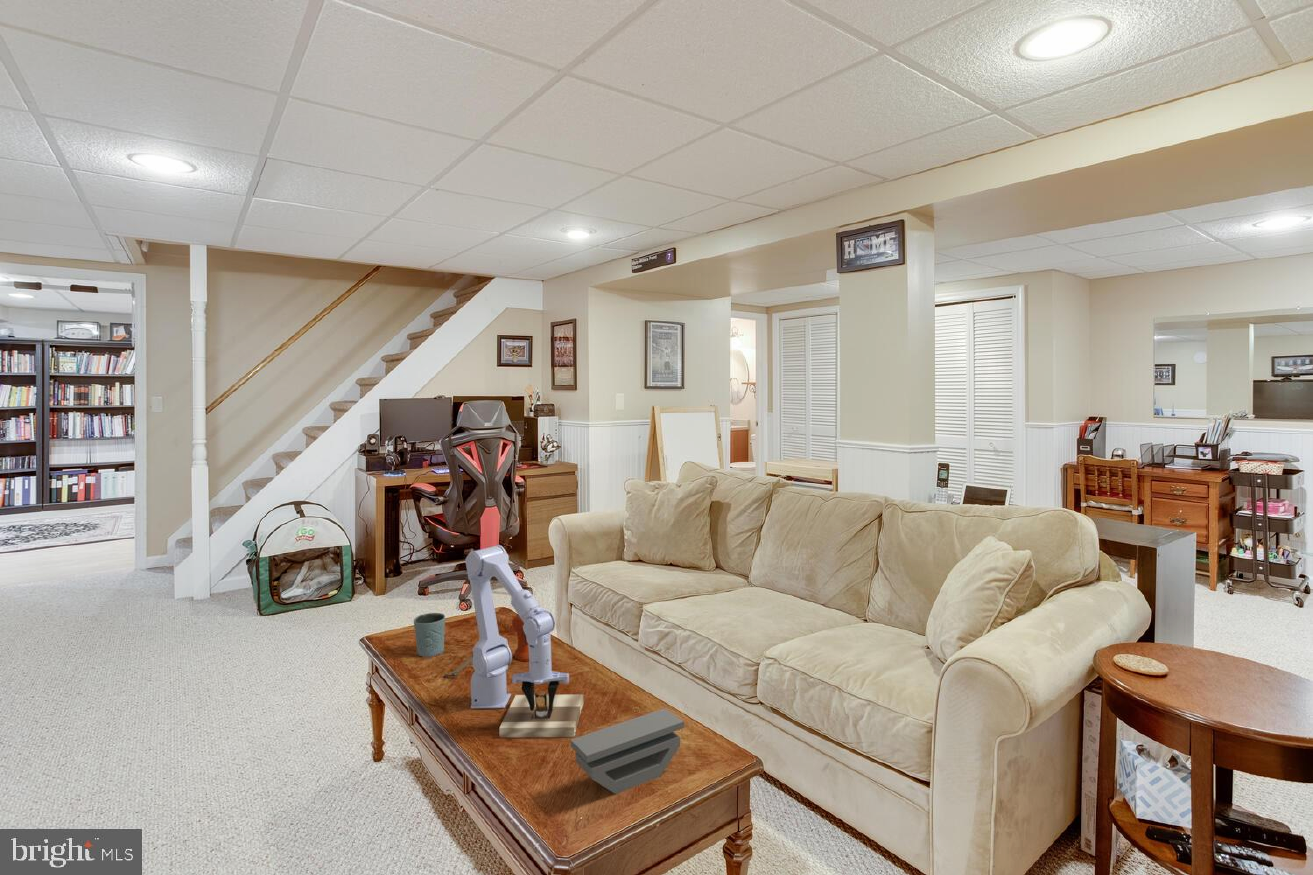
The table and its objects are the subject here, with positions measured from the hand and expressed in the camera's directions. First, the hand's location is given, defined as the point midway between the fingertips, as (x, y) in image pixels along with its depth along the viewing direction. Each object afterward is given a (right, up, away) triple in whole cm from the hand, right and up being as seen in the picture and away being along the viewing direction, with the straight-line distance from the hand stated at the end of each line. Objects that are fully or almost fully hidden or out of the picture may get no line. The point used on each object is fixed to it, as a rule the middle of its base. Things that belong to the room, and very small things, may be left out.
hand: (541, 708), depth 174 cm
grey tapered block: (+24, -6, -24) cm, 35 cm away
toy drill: (-10, -1, +40) cm, 42 cm away
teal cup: (-46, -1, +49) cm, 67 cm away
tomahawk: (-30, -2, +38) cm, 49 cm away
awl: (0, -4, 0) cm, 4 cm away
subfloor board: (0, -4, +2) cm, 4 cm away
